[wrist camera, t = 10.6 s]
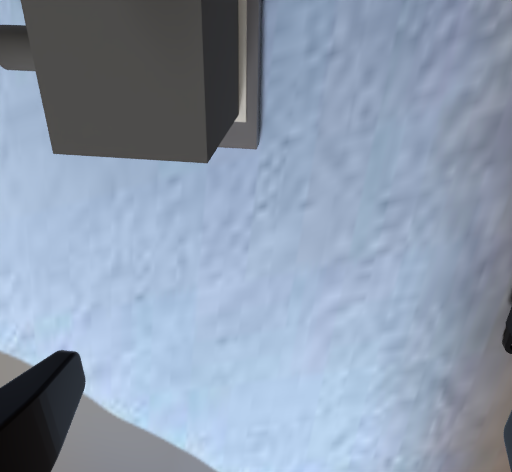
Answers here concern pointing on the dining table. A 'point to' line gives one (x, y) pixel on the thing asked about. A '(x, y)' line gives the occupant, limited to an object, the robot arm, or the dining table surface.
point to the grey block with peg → (131, 74)
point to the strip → (247, 78)
